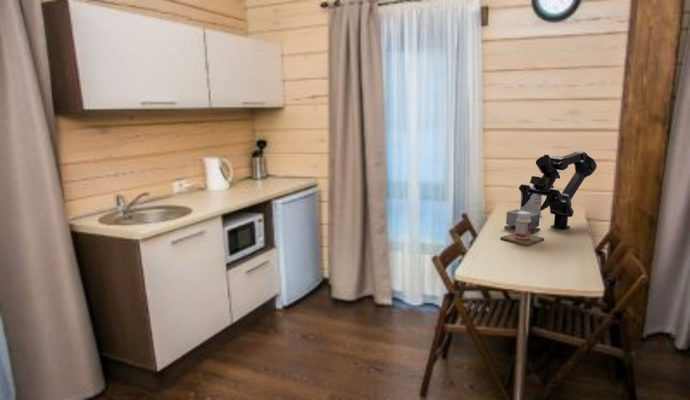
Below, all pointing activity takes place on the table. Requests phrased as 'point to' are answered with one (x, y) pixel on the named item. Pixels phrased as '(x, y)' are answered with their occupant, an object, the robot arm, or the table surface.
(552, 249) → the table surface
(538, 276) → the table surface
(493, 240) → the table surface
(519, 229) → the pill bottle
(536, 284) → the table surface
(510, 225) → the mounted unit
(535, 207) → the ink cartridge box
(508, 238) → the plate
